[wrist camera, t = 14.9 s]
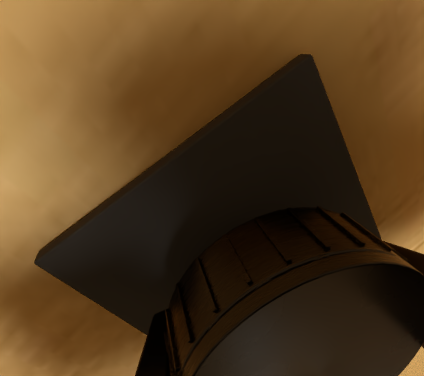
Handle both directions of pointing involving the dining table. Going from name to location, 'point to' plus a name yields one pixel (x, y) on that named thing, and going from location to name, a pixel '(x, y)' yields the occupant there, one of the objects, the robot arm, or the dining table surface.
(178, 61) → the dining table surface
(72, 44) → the dining table surface
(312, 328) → the jar lid
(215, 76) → the dining table surface
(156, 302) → the rubber mat
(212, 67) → the dining table surface
